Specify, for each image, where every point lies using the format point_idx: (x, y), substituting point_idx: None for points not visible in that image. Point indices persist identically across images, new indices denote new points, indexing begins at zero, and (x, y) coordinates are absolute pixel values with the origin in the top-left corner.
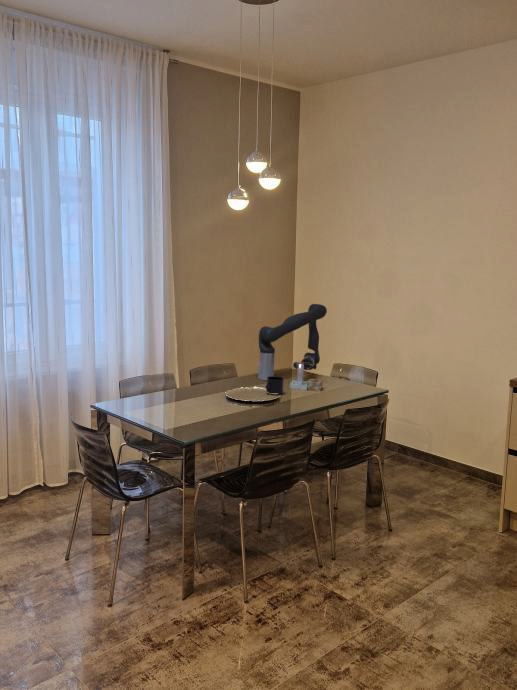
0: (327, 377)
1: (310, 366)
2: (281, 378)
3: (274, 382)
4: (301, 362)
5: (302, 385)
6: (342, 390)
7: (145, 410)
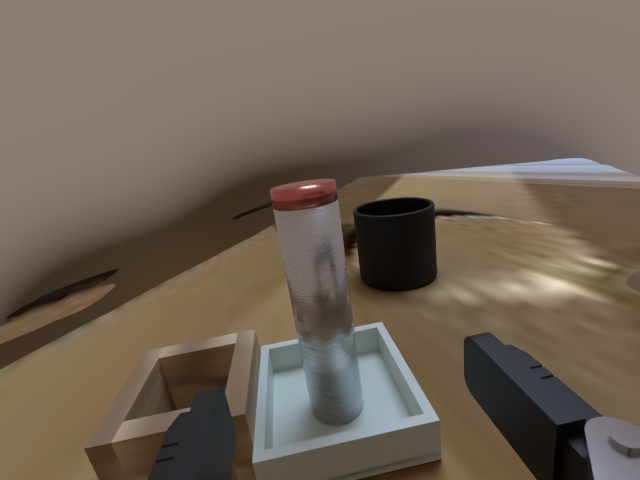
0: None
1: (197, 415)
2: (375, 220)
3: (377, 211)
4: (294, 185)
5: (293, 341)
6: None
7: (497, 171)
